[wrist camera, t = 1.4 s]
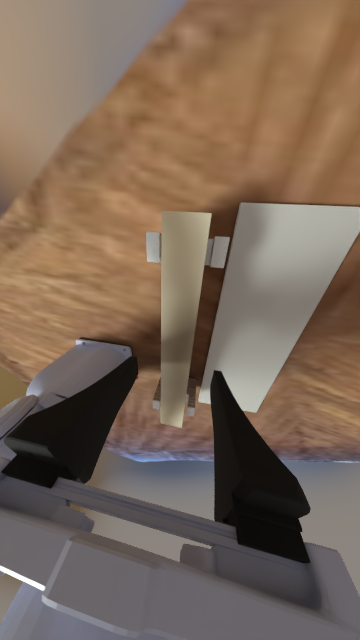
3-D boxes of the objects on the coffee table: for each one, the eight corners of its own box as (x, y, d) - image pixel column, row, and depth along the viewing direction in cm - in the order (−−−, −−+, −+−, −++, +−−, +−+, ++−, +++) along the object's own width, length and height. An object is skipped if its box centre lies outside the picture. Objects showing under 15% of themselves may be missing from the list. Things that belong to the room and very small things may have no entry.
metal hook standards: (161, 381, 24) (153, 408, 20) (163, 238, 14) (146, 231, 10) (194, 386, 23) (193, 416, 19) (221, 242, 13) (230, 237, 9)
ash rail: (165, 402, 22) (160, 423, 19) (171, 221, 11) (161, 210, 8) (183, 406, 21) (181, 427, 19) (209, 223, 10) (211, 213, 8)
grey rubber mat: (198, 398, 25) (198, 401, 24) (239, 204, 12) (241, 202, 11) (254, 409, 24) (255, 412, 23) (365, 209, 11) (373, 207, 10)
